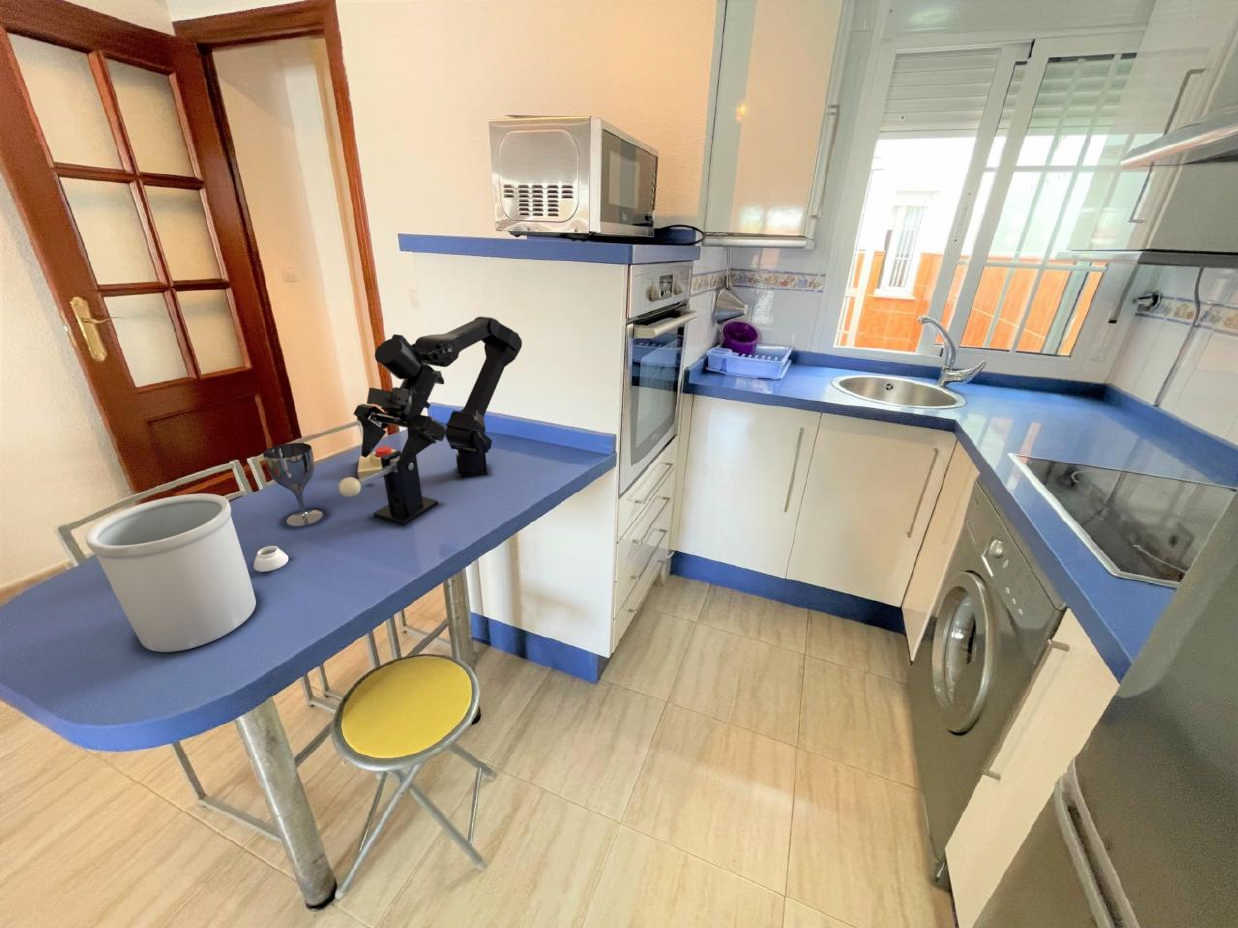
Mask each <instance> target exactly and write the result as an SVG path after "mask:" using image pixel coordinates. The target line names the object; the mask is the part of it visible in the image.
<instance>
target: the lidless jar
mask: <svg viewBox="0 0 1238 928" xmlns="http://www.w3.org/2000/svg"><path fill="white" fill-rule="evenodd" d="M288 562H289V555H287V554H286V553H285V552H284V551H283V550H282V549H280V548H279V547H278V546H276V545H269V546H268V545H267V546H265V547H262V548H261V549H259V550H258V551H257V553H256V556H255V559H254V563H253V569H254V571H257V572H261V573H262V572H270V571H275V570H277V569H280V568H282V567H283V566H285V565H286V564H287V563H288Z"/></svg>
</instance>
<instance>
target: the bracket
mask: <svg viewBox="0 0 1238 928" xmlns="http://www.w3.org/2000/svg"><path fill="white" fill-rule="evenodd" d="M401 452H402V450H398V449H397V451H394V452H392V453H390V454H388V455H385V456H383V457H381V464H382V468H384V467H386V466H389V465H390V460H391V459H393V458H396V457H398V456H400V455H401ZM396 464H397V470H398V472H393V471H392V472H390V473H388V474H386V475H383V480H384V485H385V491H386V497H387V503H388V504H387V505H385V506H383V507H382V508H380V509H377V510H376V511H375V512H373V518H374V519H377V520H382V521H386V522H388V523H392V524H394V525H395V524H396V525H399V526H403V527H405V526H407V525H408V524H410V523H411V522H413V521H415V520H416V519H418V518H419V517H421V516H423V515H425V514H426V513H428V512H430V511H431V510H432V509H434V508H435V507H437V506H439V500H437V499H434V498H430V497H426V496H423V495H422V487H421V480H420V473H419V466H418V459H417V455H416V456H414V457H413V458H412V459H411V460H409V461H408V462H407V463H406V464H404V465H403V466H400V465H398V461H396Z"/></svg>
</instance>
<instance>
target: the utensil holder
mask: <svg viewBox="0 0 1238 928" xmlns="http://www.w3.org/2000/svg"><path fill="white" fill-rule="evenodd" d="M231 514H232V507H231V505H230V501H229V500H228V499H227V498H225V497H224V496H222V495H219V494H214V493H190V494H182V495H173V496H168V497H164V498H159V499H155V500H151V501H146V502H143V503H141V504H137V505H133V506H131V507H128V508H125V509H123V510H119V511H117V512H115V513H113V514H111V515H109V516H107V517H105V518H103V519H101V520H100V521H98V522H97V523H95V524H94V525H92V527H91V528H90V529H88V531H87V532H86V535H85V537H84V538H85V542H86V544H87V547H88V548H89V550H90V551H91V552H92V553H94V554H95V555H96V557H97V560H98V562H99V564H100V565H101V568H102V569H103V572H104V574H105V576H106V578H107V580H108V582H109V584H110V587H111V589H112V590H113V592H114V595H115V596H116V599H117V600H118V602H119V604H120V607H121V608H122V610H123V612H124V614H125V616H126V618H127V621H128V622H129V623H130V625H131V627H132V629H133V631H134V633H135V635H136V636H137V639H138V640H139V641H140V643H141V645H142V646H143V647H144V648H146V649H147V650H149V651H153V652H157V653H174V652H181V651H186V650H191V649H193V648H197V647H200V646H204V645H206V644H209V643H211V642H213V641H216V640H218V639H220V638H223V637H224V636H226V635H227V634H230V633H231V632H233V631H234V630H236V629H237V628H238V627H240V626H241V625H243V623H245V622H246V621H247V620H248V619H249V618H250V617H251V615H252V614H253V612H254V611H255V608H256V604H257V600H256V596H255V591H254V588H253V585H252V581H251V577H250V573H249V570H248V567H247V563H246V560H245V557H244V553H243V550H242V547H241V544H240V540H239V537H238V533H237V531H236V528H235V525H234V522H233V519H232V515H231Z"/></svg>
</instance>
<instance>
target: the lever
mask: <svg viewBox="0 0 1238 928" xmlns="http://www.w3.org/2000/svg"><path fill="white" fill-rule="evenodd" d="M399 457H400V456H398V457H396V458H393V459H391V460H390V465H389V466H386V467H384V468H382V469H380V470H378V471H375V472H373V473H371V474H369V475H366V476H364V477H362V478H358V479H357V478H355V477H351V476H349V477H345V478H343V479H341V480H340V482H339V483H338V491H339V493H340V494H341V495H342V496H344V497H347V498H353V497H355V496H357V495H358V494H359V493H360V492H361V490H362V486H364V485H366V484H368V483H370V482H373V481H374V480H377V479H379V478H381V477H384V475H386V474H388V473H390V472H392V471H393V472H398V470H397V464H396V461H398V460H399Z"/></svg>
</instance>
